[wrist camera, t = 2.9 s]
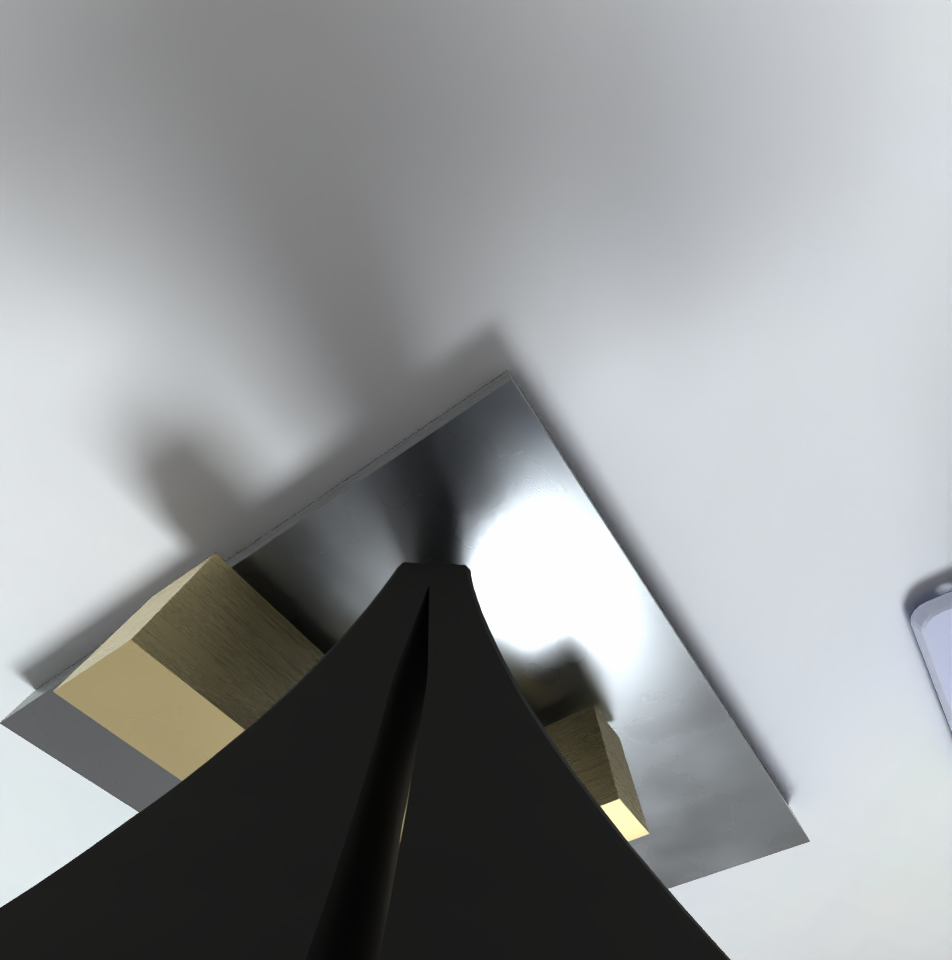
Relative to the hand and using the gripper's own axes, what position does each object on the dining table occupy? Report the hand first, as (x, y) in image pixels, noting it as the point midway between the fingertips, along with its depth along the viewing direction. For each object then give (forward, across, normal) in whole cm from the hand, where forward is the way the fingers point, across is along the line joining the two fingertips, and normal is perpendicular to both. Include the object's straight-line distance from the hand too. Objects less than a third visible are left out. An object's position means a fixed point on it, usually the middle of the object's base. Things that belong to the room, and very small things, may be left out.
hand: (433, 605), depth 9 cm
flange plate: (+2, 0, +7) cm, 8 cm away
